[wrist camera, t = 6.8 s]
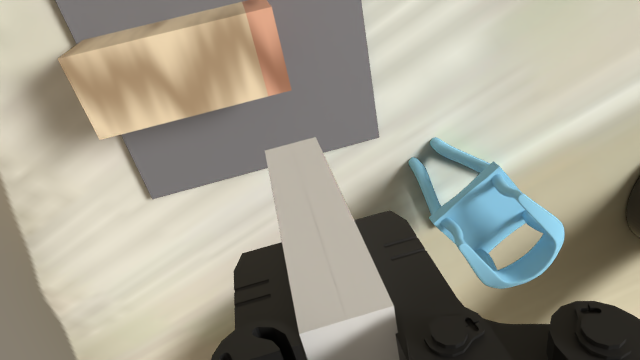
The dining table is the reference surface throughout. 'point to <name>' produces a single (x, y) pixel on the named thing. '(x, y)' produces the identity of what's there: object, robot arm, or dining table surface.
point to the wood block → (177, 67)
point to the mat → (257, 115)
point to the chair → (490, 219)
